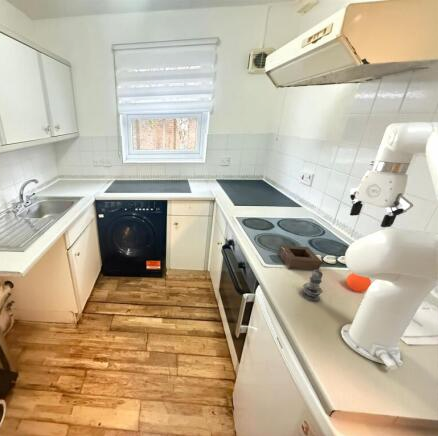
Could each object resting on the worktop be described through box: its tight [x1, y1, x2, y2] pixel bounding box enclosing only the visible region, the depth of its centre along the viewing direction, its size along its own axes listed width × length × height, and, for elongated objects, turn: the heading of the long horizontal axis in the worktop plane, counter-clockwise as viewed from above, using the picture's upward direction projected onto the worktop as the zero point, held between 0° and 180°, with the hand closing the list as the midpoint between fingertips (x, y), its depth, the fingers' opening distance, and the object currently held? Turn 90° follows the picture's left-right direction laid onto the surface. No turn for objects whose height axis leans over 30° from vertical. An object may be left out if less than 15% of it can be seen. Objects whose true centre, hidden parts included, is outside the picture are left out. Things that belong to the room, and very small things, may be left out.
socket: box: [278, 245, 323, 272], centre depth 106 cm, size 12×12×5 cm
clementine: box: [345, 272, 372, 292], centre depth 89 cm, size 8×7×7 cm
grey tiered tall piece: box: [301, 268, 324, 302], centre depth 84 cm, size 6×6×12 cm
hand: (368, 220), depth 77 cm, fingers open, 9 cm apart
